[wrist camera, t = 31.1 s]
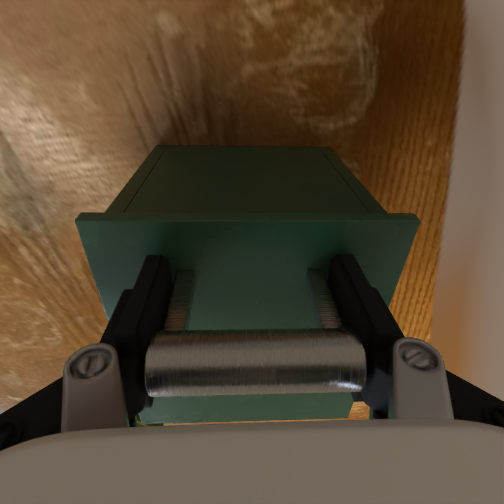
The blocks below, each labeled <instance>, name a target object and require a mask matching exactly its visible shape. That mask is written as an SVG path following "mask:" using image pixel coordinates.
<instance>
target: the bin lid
mask: <svg viewBox="0 0 504 504" xmlns="http://www.w3.org/2000/svg"><path fill="white" fill-rule="evenodd" d="M75 223H76V226H77V229H78V232H79V235H80V238H81V241H82V244H83V247H84V250H85V253H86V256H87V259H88V262H89V265H90V268H91V271H92V274H93V277H94V280H95V283H96V286H97V289H98V292H99V295H100V298H101V301H102V304H103V307H104V310H105V313H106V316H107V319H108V322H109V321H110V318H111V316H112V314H113V312H114V309H115V307H116V305H117V303H118V301H119V298H120V296H121V294H122V292H123V290H125V289H133V287H134V285H135V282H136V280H137V278H138V275H139V273H140V270H141V268H142V266H143V263H144V261H145V258H146V256H147V255H163V256H164V258H168V259H169V263H170V270H171V277H172V284H173V287H172V292H171V296H170V300H169V304H168V308H167V312H166V316H165V320H164V324H163V329H162V331H154V332H152V334H151V335H150V337H149V340H148V343H147V347H146V351H145V358H144V372H143V373H144V386H145V391H146V393H147V395H148V396H150V397H154V400H153V405H152V407H144V409H143V410H142V411H141V412H140V413H139V416H140V419H141V422H142V424H162V423H197V422H232V421H267V420H303V419H338V418H348V415H349V412H350V410H351V407H352V404H353V402H354V401H353V398H352V395H351V392H360V391H362V390H363V389H364V387H365V385H366V381H367V372H368V367H367V356H366V351H365V347H364V343H363V341H362V338H361V336H360V334H359V333H358V331H357V330H356V329H354V328H344V326H343V323H342V320H341V318H340V315H339V312H338V309H337V307H336V304H335V301H334V298H333V295H332V293H331V290H330V287H329V284H328V282H327V280H328V274H329V269H330V264H331V259H332V258H336V256H337V254H353V255H354V256H355V258H356V260H357V262H358V264H359V265H360V267H361V269H362V271H363V273H364V274H365V276H366V278H367V280H368V282H369V283H370V285H371V287H375V288H377V290H378V291H379V293H380V295H381V296H382V298H383V300H384V302H385V303H386V305H387V307H389V305H390V302H391V299H392V297H393V294H394V291H395V289H396V286H397V283H398V280H399V278H400V275H401V272H402V270H403V267H404V264H405V262H406V259H407V256H408V254H409V251H410V248H411V245H412V243H413V240H414V237H415V235H416V232H417V229H418V227H419V224H420V220H419V219H418V218H417V216H416V215H415V214H413V213H91V212H82V213H80V214H79V216H78V217H77V218H76V219H75Z"/></svg>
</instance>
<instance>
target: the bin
mask: <svg viewBox="0 0 504 504" xmlns="http://www.w3.org/2000/svg"><path fill="white" fill-rule="evenodd" d="M105 213H387V212H386V211H385V210H384V209H383V208H382V206H381V205H380V204H379V203H378V202H377V201H376V200H375V198H374V197H373V196H372V195H371V194H370V193H369V192H368V191H367V189H366V188H365V187H364V186H363V185H362V184H361V183H360V182H359V180H358V179H357V178H356V177H355V176H354V175H353V174H352V173H351V171H350V170H349V169H348V168H347V167H346V166H345V165H344V164H343V162H342V161H341V160H340V159H339V158H338V157H337V156H336V155H335V153H334V152H333V151H332V150H331V149H330V148H329V147H256V146H178V145H156V147H155V148H154V149H153V150H152V152H151V153H150V154H149V156H148V157H147V158H146V159H145V161H144V162H143V163H142V165H141V166H140V167H139V169H138V170H137V171H136V172H135V174H134V175H133V176H132V178H131V179H130V180H129V181H128V183H127V184H126V185H125V187H124V188H123V189H122V191H121V192H120V193H119V194H118V196H117V197H116V198H115V200H114V201H113V202H112V204H111V205H110V206H109V207H108V209H107V210H106V211H105Z"/></svg>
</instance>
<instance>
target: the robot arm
mask: <svg viewBox="0 0 504 504" xmlns="http://www.w3.org/2000/svg"><path fill="white" fill-rule="evenodd" d="M327 282H328V284H329V287H330V290H331V293H332V295H333V298H334V301H335V304H336V307H337V309H338V312H339V315H340V318H341V320H342V323H343V326H344V328H354V329H356V330H357V331H358V333H359V334H360V336H361V338H362V341H363V343H364V347H365V351H366V356H367V367H368V372H367V381H366V385H365V387H364V389H363V390H362V391H360V392H351V395H352V398H353V401H354V402H358V401H364V402H365V404H367V405H368V406H370V416H369V420H330V421H294V422H261V423H230V424H201V425H174V426H146V427H138V424H137V418H136V415H137V414H138V413H140V412H141V411H142V410H143V409H144V407H152V405H153V400H154V397H150V396H148V395H147V393H146V391H145V386H144V373H143V372H144V358H145V351H146V347H147V343H148V340H149V337H150V335H151V334H152V332H154V331H162V329H163V324H164V320H165V316H166V312H167V308H168V304H169V300H170V296H171V292H172V287H173V284H172V277H171V270H170V263H169V259H168V258H164V256H163V255H147V256H146V258H145V261H144V263H143V266H142V268H141V270H140V273H139V275H138V278H137V280H136V282H135V285H134V287H133V289H125V290H123V292H122V294H121V296H120V298H119V301H118V303H117V305H116V307H115V309H114V312H113V314H112V316H111V318H110V321H109V323H108V325H107V327H106V329H105V332H104V334H103V336H102V338H101V341H100V343H94V344H89V345H87V346H84V347H82V348H80V349H79V350H77V351H76V352H74V353H73V354H72V355H71V356H70V357H69V358H68V360H67V361H66V363H65V365H64V370H63V377H61V378H60V379H58V380H56V381H55V382H53V383H51V384H50V385H48V386H46V387H45V388H43V389H41V390H40V391H38V392H36V393H35V394H33V395H31V396H30V397H28V398H27V399H25V400H23V401H22V402H20V403H18V404H17V405H15V406H13V407H12V408H10V409H8V410H7V411H5V412H4V413H2V414H0V504H504V401H501V400H500V399H498V398H496V397H494V396H492V395H491V394H489V393H487V392H485V391H483V390H482V389H480V388H478V387H476V386H474V385H473V384H471V383H469V382H467V381H465V380H463V379H462V378H460V377H458V376H456V375H454V374H452V373H451V372H449V371H447V370H445V365H444V361H443V358H442V356H441V355H440V353H439V352H438V351H437V350H436V349H435V348H434V347H433V346H432V345H430V344H428V343H427V342H425V341H423V340H420V339H417V338H411V337H406V338H405V337H404V335H403V333H402V331H401V330H400V328H399V326H398V324H397V323H396V321H395V319H394V317H393V316H392V314H391V312H390V310H389V309H388V307H387V305H386V303H385V302H384V300H383V298H382V296H381V295H380V293H379V291H378V290H377V288H375V287H371V285H370V283H369V282H368V280H367V278H366V276H365V274H364V273H363V271H362V269H361V267H360V265H359V264H358V262H357V260H356V258H355V256H354V255H353V254H337V256H336V258H332V259H331V264H330V269H329V274H328V280H327Z"/></svg>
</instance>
